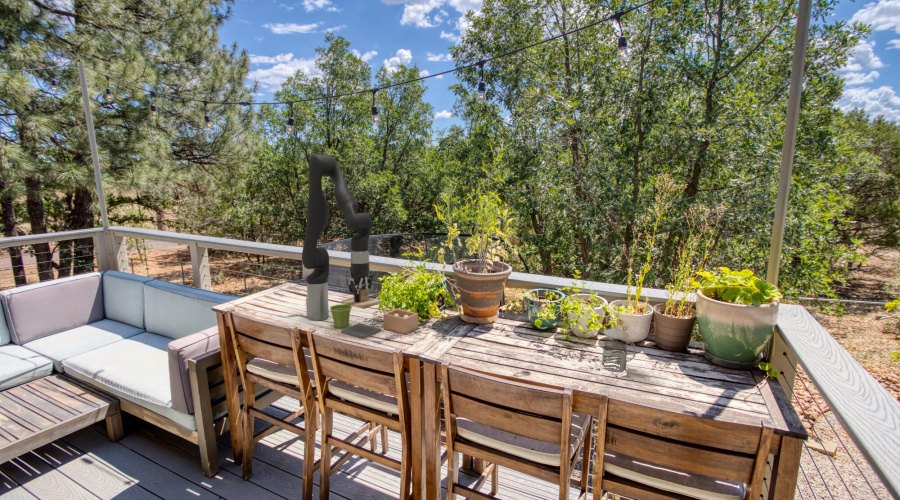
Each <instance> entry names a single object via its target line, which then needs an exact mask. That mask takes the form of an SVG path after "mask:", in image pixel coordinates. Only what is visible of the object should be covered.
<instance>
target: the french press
mask: <svg viewBox="0 0 900 500" xmlns="http://www.w3.org/2000/svg"><path fill="white" fill-rule="evenodd" d="M615 306H616V307H618V308H617V315H619V312H620V307H622V306H623V304H622V302H621V301H619V302H616V303H615ZM618 324H619V317H617V319H616V326H618ZM603 334H604V336H606V337H608V338H610V339H613V340H609V341H605V342H604V346H603V349H602V358H601V359H602V360H601V365H603V366H604V367H616V368H619V370H617V369H614V368H604V369H606V370H608V371H612V372H623V371H624V370H626V371H627V363H628V362H631V361H633V359H634V358H635V357H636V354H637V347H636V345H635V344H634V342H633V341H632V340H630V339H629V338H630V337H629V336H630V335H629V334H628V332H626V331H625V330H622V329H619V328H609V329H606V330H604V331H603ZM626 339H627V341H625V343H622V342H620V341H617V340H626ZM629 344H630V345H631V347H632V349H633V356H632V357H631V358H630V359H629V358H628V359H627V357H628V356H627V355H628V354H627V353H628V350H627V346H628V345H629ZM604 363H615V364H618V365H620V367H619V366H616V365H604Z"/></svg>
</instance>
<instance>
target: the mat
mask: <svg viewBox="0 0 900 500" xmlns="http://www.w3.org/2000/svg"><path fill="white" fill-rule="evenodd" d="M380 332H382V328H380V327H377V326H372V325H368V324H366V323H361V322H358V323H355V324H353V325H351V326H348V327H345V328H342V329H341V330H340V333H342V334H345V335H349V336H353V337H355V338H360V339H367V338H369V337H371V336H373V335H376V334H379V333H380Z"/></svg>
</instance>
